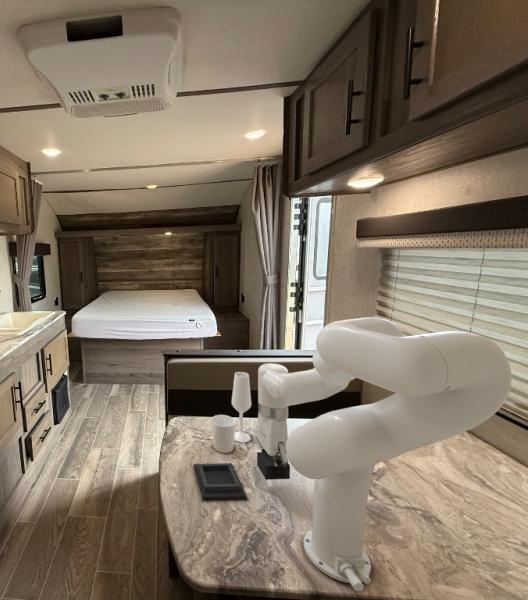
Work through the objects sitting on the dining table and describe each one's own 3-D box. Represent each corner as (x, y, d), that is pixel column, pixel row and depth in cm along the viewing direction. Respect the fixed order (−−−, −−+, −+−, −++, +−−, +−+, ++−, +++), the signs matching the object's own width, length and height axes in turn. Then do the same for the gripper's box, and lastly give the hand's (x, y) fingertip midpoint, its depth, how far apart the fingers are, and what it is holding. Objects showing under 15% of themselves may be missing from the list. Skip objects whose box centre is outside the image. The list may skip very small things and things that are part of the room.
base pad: (246, 499, 90) (246, 491, 90) (202, 500, 90) (202, 492, 90) (231, 466, 104) (231, 458, 103) (193, 466, 104) (193, 459, 104)
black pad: (289, 479, 89) (290, 465, 88) (265, 479, 89) (265, 466, 88) (279, 464, 95) (279, 451, 95) (256, 465, 95) (256, 452, 95)
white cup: (210, 452, 111) (210, 424, 110) (212, 439, 119) (212, 413, 117) (235, 455, 109) (235, 428, 107) (235, 442, 116) (235, 416, 115)
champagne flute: (245, 431, 123) (246, 370, 119) (253, 441, 116) (255, 377, 113) (228, 432, 122) (228, 371, 119) (235, 442, 116) (236, 378, 112)
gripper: (248, 396, 98) (248, 452, 100) (272, 425, 81) (272, 491, 83) (273, 395, 98) (273, 451, 100) (302, 424, 81) (302, 491, 83)
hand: (272, 469), depth 92 cm, fingers closed on black pad, 6 cm apart
